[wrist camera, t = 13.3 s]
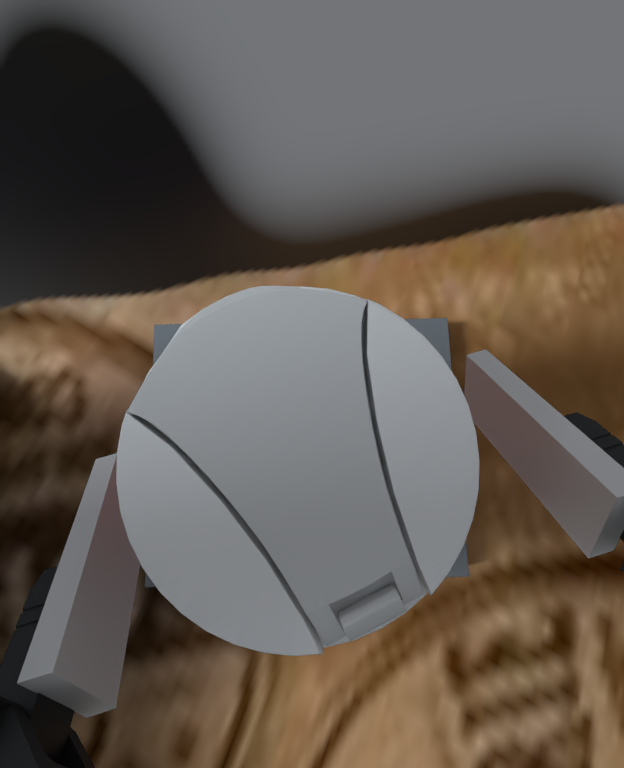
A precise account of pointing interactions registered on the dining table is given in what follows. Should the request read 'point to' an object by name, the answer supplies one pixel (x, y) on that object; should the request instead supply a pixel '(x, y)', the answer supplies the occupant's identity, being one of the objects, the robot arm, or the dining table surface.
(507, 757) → the dining table surface
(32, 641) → the robot arm
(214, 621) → the coffee cup
